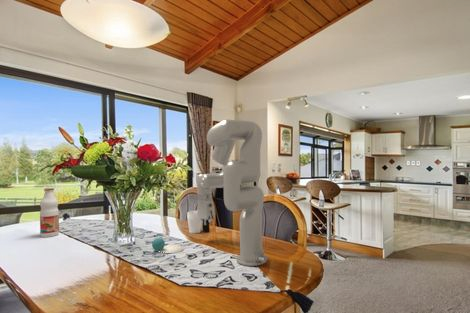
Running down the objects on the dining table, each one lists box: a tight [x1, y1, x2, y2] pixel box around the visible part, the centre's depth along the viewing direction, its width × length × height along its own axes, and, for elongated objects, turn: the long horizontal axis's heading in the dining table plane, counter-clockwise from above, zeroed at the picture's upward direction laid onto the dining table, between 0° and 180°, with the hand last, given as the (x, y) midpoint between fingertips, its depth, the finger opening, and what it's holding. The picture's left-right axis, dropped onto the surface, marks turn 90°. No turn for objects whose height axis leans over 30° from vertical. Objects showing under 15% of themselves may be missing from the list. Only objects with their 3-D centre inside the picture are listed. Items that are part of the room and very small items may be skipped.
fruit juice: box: [39, 187, 60, 238], centre depth 170 cm, size 9×9×28 cm
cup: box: [186, 210, 203, 234], centre depth 171 cm, size 9×9×12 cm
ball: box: [151, 237, 166, 252], centre depth 137 cm, size 6×6×6 cm
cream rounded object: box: [157, 244, 185, 254], centre depth 139 cm, size 13×13×1 cm
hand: (206, 232), depth 151 cm, fingers closed
